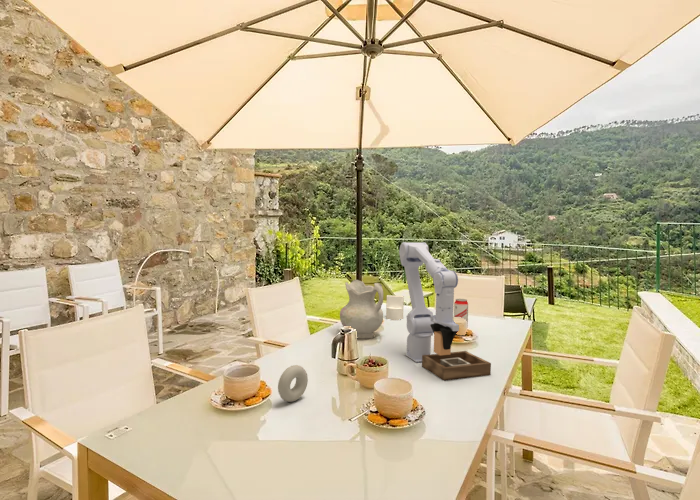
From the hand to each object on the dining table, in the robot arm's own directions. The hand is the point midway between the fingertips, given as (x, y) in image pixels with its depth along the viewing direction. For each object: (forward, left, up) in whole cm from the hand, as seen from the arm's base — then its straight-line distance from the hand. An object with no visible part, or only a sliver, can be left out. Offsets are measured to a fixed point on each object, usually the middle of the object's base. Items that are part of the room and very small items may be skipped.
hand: (443, 347), depth 139 cm
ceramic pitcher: (-50, -8, -9) cm, 52 cm away
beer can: (-41, +36, -9) cm, 55 cm away
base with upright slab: (-78, +21, -9) cm, 81 cm away
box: (-1, +6, -9) cm, 11 cm away
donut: (+6, -52, -9) cm, 53 cm away
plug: (0, 0, -2) cm, 2 cm away
